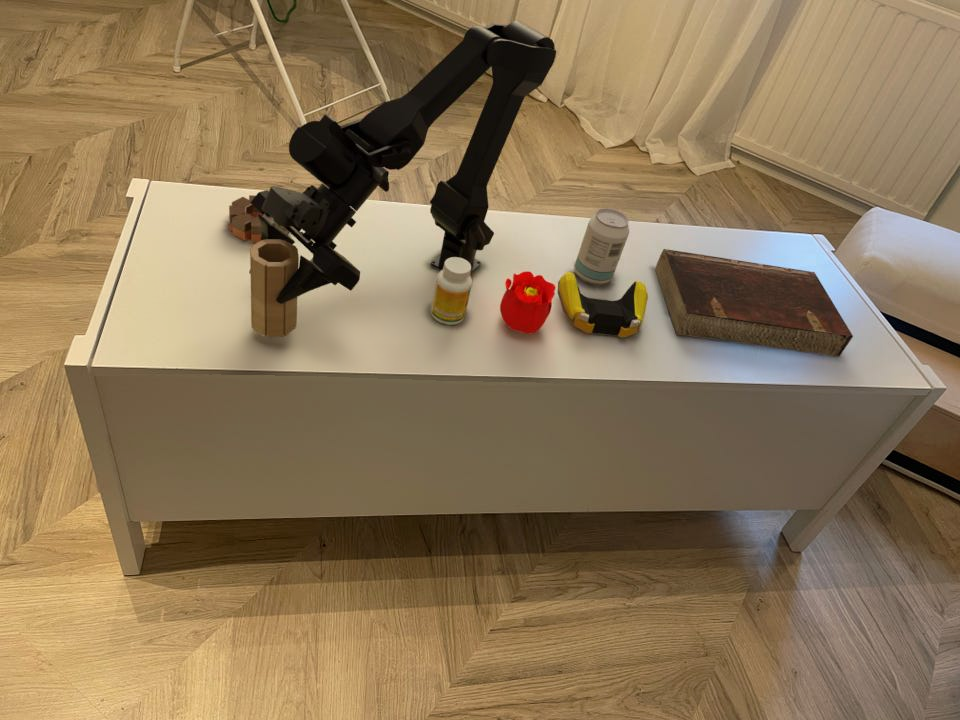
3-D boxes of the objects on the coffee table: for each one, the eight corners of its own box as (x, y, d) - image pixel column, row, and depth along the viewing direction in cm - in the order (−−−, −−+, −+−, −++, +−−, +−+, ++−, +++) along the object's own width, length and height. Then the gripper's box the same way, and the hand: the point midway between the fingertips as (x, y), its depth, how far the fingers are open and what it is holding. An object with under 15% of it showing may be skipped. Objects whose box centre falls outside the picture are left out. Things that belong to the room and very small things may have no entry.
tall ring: (272, 303, 111) (272, 233, 103) (304, 322, 110) (307, 252, 102) (242, 323, 107) (240, 252, 99) (275, 343, 106) (276, 272, 98)
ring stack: (256, 205, 132) (256, 189, 130) (298, 227, 129) (298, 211, 127) (217, 226, 126) (216, 209, 124) (260, 249, 123) (260, 233, 121)
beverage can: (609, 268, 138) (631, 211, 130) (612, 291, 133) (634, 233, 125) (572, 261, 138) (591, 202, 130) (572, 283, 133) (592, 224, 125)
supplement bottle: (427, 303, 121) (436, 253, 115) (460, 303, 123) (471, 254, 116) (433, 326, 117) (443, 275, 111) (467, 326, 119) (479, 276, 113)
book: (802, 291, 145) (814, 269, 142) (838, 358, 131) (853, 336, 128) (654, 268, 141) (664, 246, 138) (675, 335, 127) (686, 312, 124)
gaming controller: (551, 293, 129) (558, 332, 122) (560, 267, 126) (567, 305, 118) (637, 304, 132) (649, 343, 124) (648, 278, 128) (660, 317, 121)
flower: (488, 313, 122) (498, 272, 117) (529, 306, 126) (541, 266, 120) (511, 345, 117) (523, 305, 112) (554, 337, 121) (567, 297, 116)
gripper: (263, 133, 100) (187, 227, 100) (347, 206, 91) (263, 308, 92) (313, 174, 109) (243, 259, 110) (393, 243, 101) (317, 335, 102)
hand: (264, 288), depth 103 cm, fingers closed on tall ring, 6 cm apart
